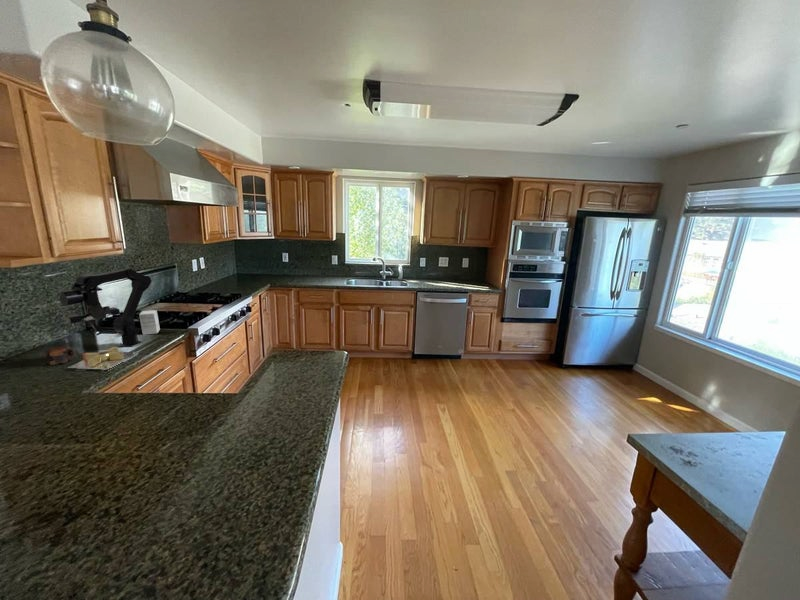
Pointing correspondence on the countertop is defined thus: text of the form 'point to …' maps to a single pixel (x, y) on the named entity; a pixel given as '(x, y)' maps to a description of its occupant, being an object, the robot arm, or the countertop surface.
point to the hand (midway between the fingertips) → (97, 331)
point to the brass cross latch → (102, 356)
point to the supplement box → (149, 322)
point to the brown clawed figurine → (60, 354)
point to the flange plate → (104, 362)
